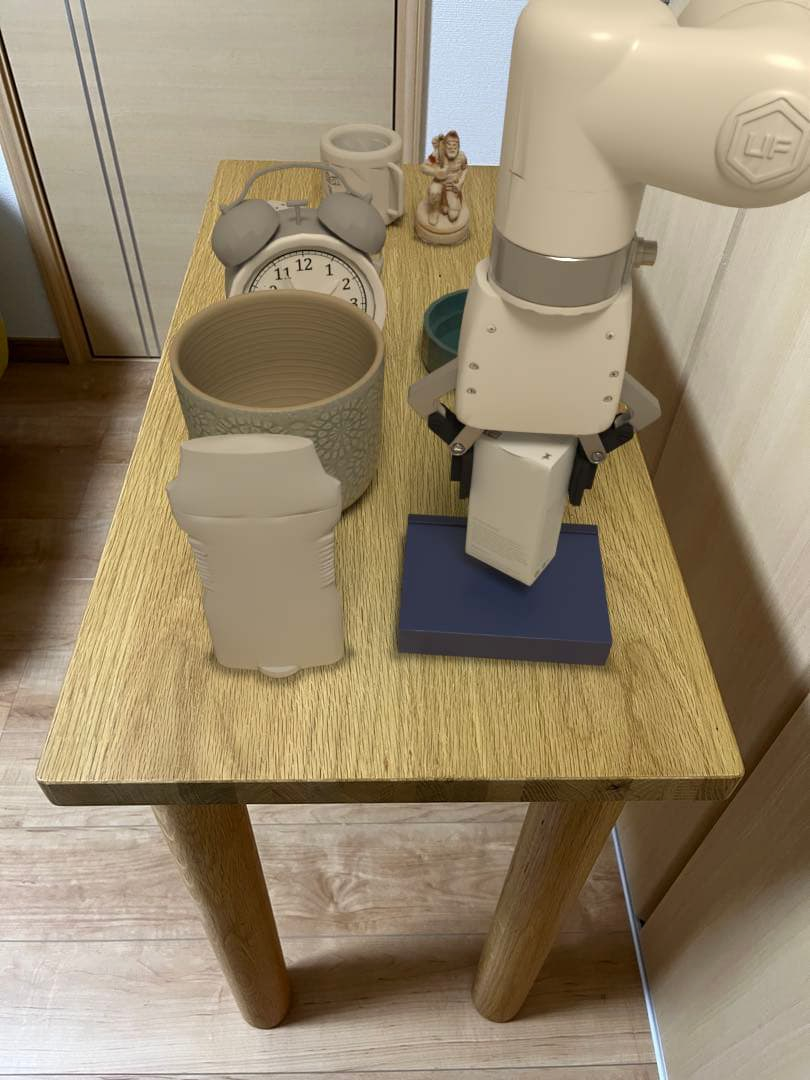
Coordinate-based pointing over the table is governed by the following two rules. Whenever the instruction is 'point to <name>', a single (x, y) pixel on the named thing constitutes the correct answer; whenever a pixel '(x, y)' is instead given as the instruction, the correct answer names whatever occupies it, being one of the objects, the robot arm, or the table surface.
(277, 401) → the planter
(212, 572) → the deodorant stick
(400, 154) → the mug
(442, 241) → the figurine
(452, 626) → the book
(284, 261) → the alarm clock
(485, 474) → the cosmetic box
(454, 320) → the bowl
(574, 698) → the table surface
